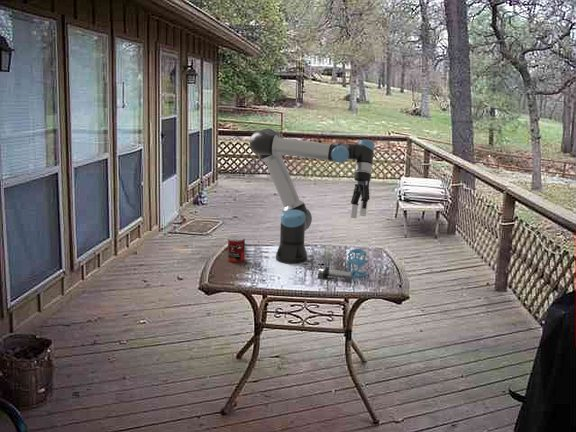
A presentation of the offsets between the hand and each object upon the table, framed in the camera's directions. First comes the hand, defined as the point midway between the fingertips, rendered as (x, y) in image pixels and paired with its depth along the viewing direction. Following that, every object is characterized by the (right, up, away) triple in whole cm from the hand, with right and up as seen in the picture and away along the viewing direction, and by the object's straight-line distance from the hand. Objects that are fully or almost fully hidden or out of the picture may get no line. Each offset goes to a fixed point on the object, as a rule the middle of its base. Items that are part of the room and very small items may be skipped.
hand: (357, 217), depth 292 cm
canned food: (-58, -21, +3) cm, 61 cm away
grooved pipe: (-12, -27, -20) cm, 36 cm away
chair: (-2, -27, -14) cm, 30 cm away
